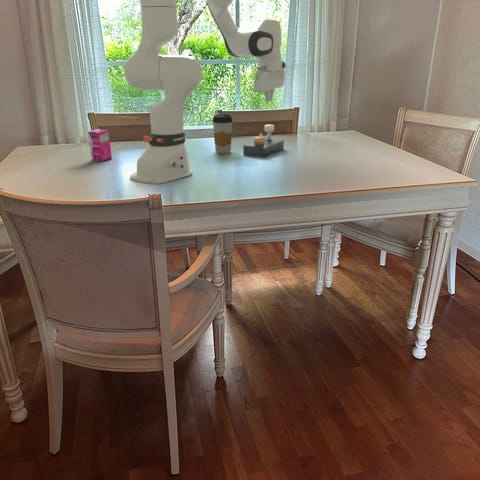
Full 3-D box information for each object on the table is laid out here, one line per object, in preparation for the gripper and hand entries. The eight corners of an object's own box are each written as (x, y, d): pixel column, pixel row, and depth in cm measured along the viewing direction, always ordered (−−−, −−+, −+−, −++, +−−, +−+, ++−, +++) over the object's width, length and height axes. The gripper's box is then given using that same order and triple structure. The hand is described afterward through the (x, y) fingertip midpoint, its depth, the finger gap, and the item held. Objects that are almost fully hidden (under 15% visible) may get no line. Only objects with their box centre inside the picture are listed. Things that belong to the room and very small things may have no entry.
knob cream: (271, 142, 189) (271, 126, 186) (262, 141, 190) (262, 125, 188) (275, 140, 192) (275, 125, 189) (267, 139, 194) (267, 124, 191)
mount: (264, 157, 180) (265, 147, 178) (243, 154, 185) (243, 145, 183) (283, 149, 193) (283, 140, 192) (263, 146, 198) (263, 137, 196)
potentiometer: (262, 143, 187) (262, 134, 185) (257, 142, 188) (257, 134, 186) (264, 141, 189) (264, 133, 187) (259, 141, 190) (259, 133, 188)
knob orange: (260, 155, 183) (260, 138, 180) (252, 154, 185) (252, 137, 182) (265, 153, 186) (265, 137, 183) (256, 152, 188) (257, 136, 185)
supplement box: (91, 160, 178) (86, 131, 173) (101, 157, 182) (97, 128, 178) (102, 162, 175) (98, 132, 170) (112, 158, 180) (108, 130, 175)
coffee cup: (234, 149, 193) (233, 114, 187) (231, 154, 185) (231, 117, 179) (214, 149, 194) (213, 114, 188) (211, 154, 186) (210, 117, 180)
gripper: (264, 67, 168) (263, 105, 174) (287, 63, 183) (286, 98, 189) (249, 67, 171) (249, 104, 177) (274, 62, 186) (273, 97, 192)
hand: (269, 101), depth 183 cm, fingers closed
